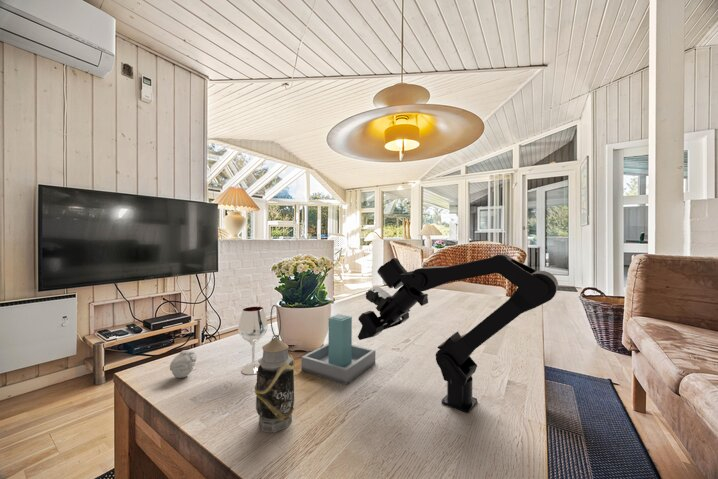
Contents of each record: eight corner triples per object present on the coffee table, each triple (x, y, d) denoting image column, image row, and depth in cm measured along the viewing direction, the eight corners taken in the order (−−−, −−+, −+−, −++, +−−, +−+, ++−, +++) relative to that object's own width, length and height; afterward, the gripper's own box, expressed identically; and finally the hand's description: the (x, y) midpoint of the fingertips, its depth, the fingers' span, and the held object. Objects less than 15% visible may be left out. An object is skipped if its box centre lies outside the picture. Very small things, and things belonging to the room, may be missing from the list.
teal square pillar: (351, 362, 90) (351, 316, 89) (342, 368, 85) (342, 319, 85) (338, 358, 92) (338, 313, 92) (328, 364, 88) (328, 317, 88)
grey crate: (346, 385, 78) (346, 370, 78) (301, 370, 86) (301, 356, 86) (375, 363, 91) (375, 350, 91) (334, 352, 100) (334, 340, 100)
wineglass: (233, 369, 87) (233, 309, 86) (259, 361, 93) (259, 304, 92) (246, 379, 81) (246, 314, 81) (272, 369, 87) (272, 308, 87)
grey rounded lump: (201, 372, 85) (201, 348, 85) (180, 384, 78) (180, 358, 78) (185, 369, 87) (185, 346, 87) (163, 380, 80) (163, 355, 80)
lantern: (300, 426, 61) (300, 307, 61) (260, 441, 57) (260, 312, 56) (286, 406, 68) (286, 299, 68) (250, 417, 64) (250, 303, 63)
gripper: (400, 275, 90) (370, 306, 97) (364, 283, 75) (332, 318, 82) (423, 304, 85) (391, 334, 92) (390, 318, 71) (354, 353, 77)
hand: (368, 334), depth 86 cm, fingers open, 9 cm apart
